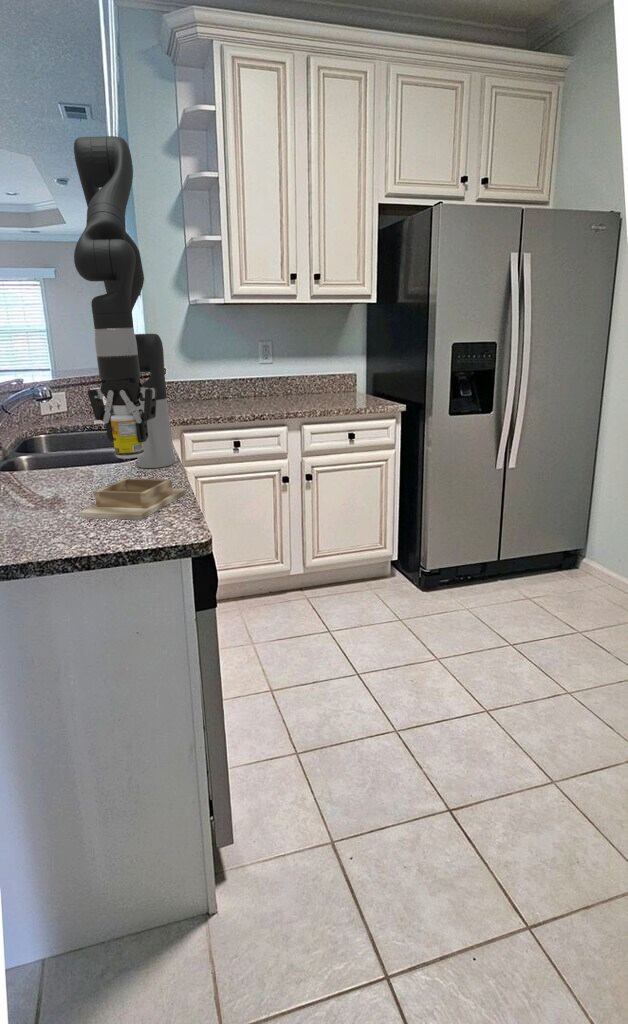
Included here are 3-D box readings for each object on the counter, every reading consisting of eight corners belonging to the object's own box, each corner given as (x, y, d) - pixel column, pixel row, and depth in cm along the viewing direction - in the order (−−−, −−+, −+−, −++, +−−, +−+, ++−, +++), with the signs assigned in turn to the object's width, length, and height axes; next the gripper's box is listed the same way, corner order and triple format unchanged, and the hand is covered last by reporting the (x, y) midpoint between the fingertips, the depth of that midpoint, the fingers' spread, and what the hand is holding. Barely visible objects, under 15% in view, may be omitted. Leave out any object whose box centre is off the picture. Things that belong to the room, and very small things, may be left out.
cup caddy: (132, 491, 135) (130, 474, 134) (186, 493, 132) (184, 475, 131) (80, 517, 118) (77, 497, 117) (141, 519, 115) (138, 499, 113)
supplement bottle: (118, 454, 124) (111, 403, 121) (146, 452, 125) (140, 402, 122) (113, 460, 119) (106, 407, 116) (142, 458, 120) (136, 405, 117)
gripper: (161, 351, 118) (170, 438, 123) (95, 353, 122) (106, 438, 127) (141, 353, 111) (151, 445, 116) (72, 355, 115) (85, 444, 120)
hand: (128, 441), depth 121 cm, fingers closed on supplement bottle, 5 cm apart
